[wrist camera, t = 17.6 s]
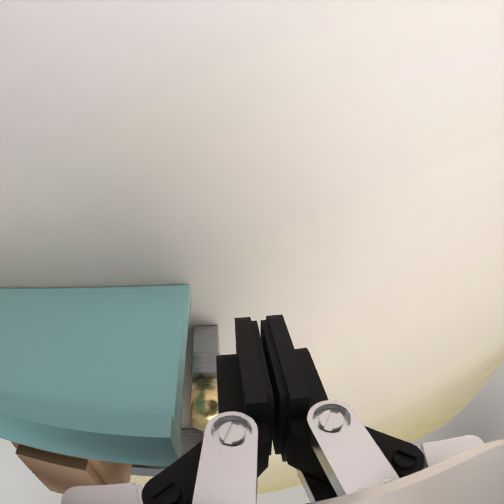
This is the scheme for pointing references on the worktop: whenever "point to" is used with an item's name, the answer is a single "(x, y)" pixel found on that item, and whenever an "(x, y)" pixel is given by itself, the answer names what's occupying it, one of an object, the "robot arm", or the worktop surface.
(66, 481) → the block
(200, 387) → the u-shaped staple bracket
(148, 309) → the flat teal rectangular block
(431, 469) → the robot arm
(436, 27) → the worktop surface
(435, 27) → the worktop surface
